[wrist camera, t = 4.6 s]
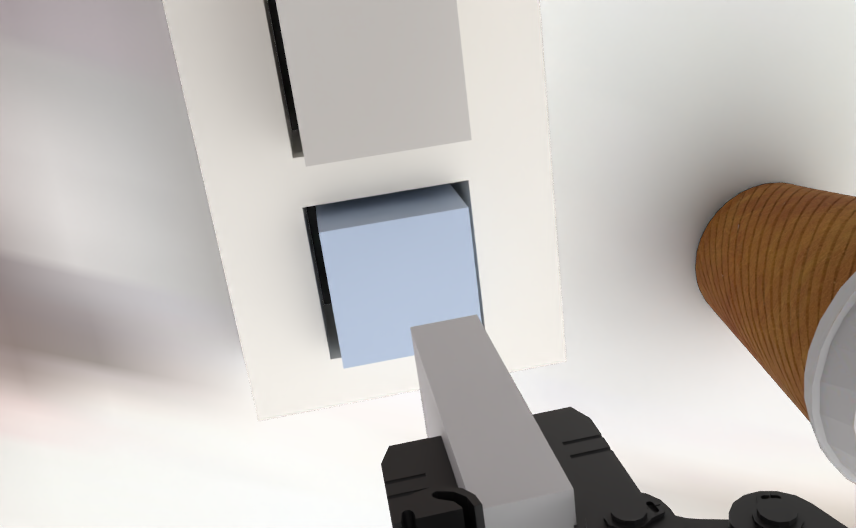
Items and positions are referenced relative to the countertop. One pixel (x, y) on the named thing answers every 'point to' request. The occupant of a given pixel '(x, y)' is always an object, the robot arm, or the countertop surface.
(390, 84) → the key grey
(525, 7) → the keypad base
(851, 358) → the disposable coffee cup
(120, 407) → the countertop surface
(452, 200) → the key blue
